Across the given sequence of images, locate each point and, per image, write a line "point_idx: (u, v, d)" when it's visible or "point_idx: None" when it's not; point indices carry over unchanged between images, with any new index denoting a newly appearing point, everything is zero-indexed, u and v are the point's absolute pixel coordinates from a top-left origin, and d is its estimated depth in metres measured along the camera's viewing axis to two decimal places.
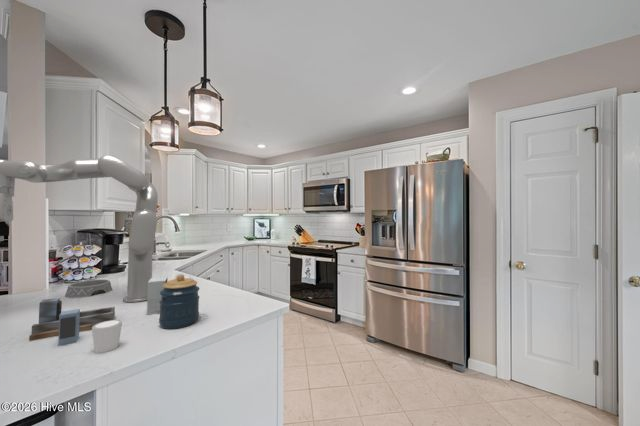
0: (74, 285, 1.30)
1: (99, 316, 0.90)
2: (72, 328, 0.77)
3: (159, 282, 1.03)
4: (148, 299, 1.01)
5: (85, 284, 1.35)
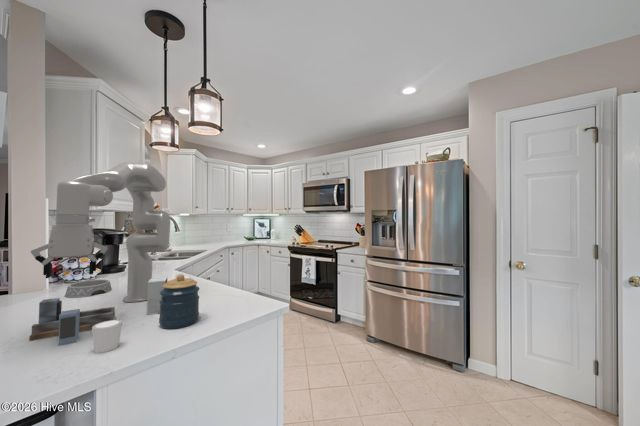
0: (74, 285, 1.30)
1: (99, 316, 0.90)
2: (72, 328, 0.77)
3: (159, 282, 1.03)
4: (148, 299, 1.01)
5: (85, 284, 1.35)
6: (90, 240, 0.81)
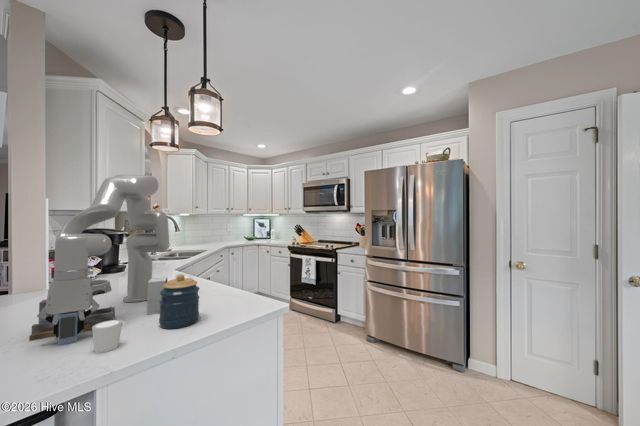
0: None
1: (99, 316, 0.90)
2: (72, 328, 0.77)
3: (159, 282, 1.03)
4: (148, 299, 1.01)
5: None
6: (88, 294, 0.80)
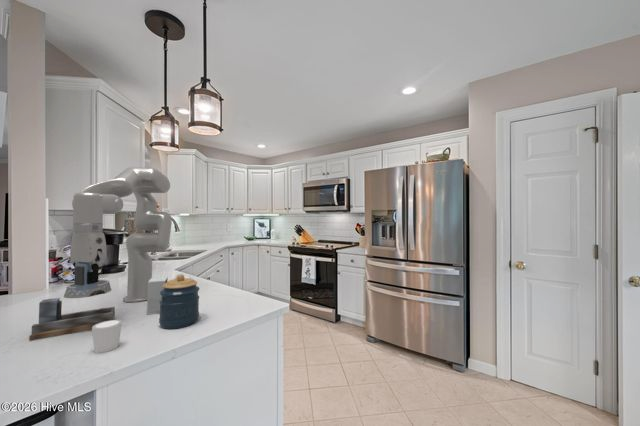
0: (73, 285, 1.30)
1: (99, 316, 0.90)
2: (80, 277, 0.83)
3: (159, 282, 1.03)
4: (148, 299, 1.01)
5: None
6: (92, 248, 0.83)
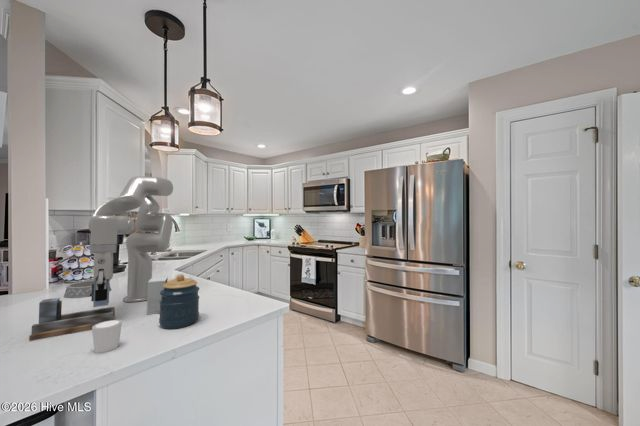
0: (73, 285, 1.30)
1: (99, 316, 0.90)
2: None
3: (159, 282, 1.03)
4: (148, 299, 1.01)
5: (84, 284, 1.35)
6: (94, 268, 0.89)
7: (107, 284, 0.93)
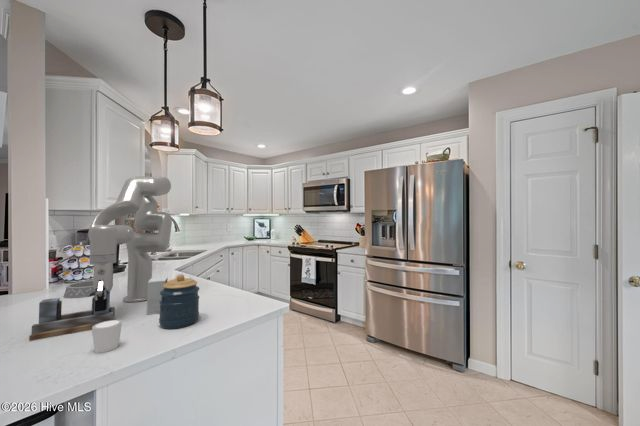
0: (73, 285, 1.30)
1: (99, 316, 0.90)
2: (92, 308, 0.91)
3: (159, 282, 1.03)
4: (148, 299, 1.01)
5: (84, 284, 1.35)
6: (94, 279, 0.89)
7: (107, 298, 0.93)
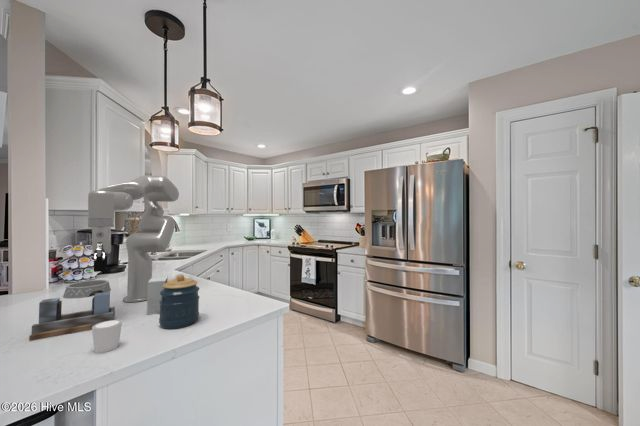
0: (72, 285, 1.30)
1: (99, 316, 0.90)
2: (92, 308, 0.91)
3: (159, 282, 1.03)
4: (148, 299, 1.01)
5: (84, 284, 1.35)
6: (92, 241, 0.91)
7: (107, 298, 0.93)
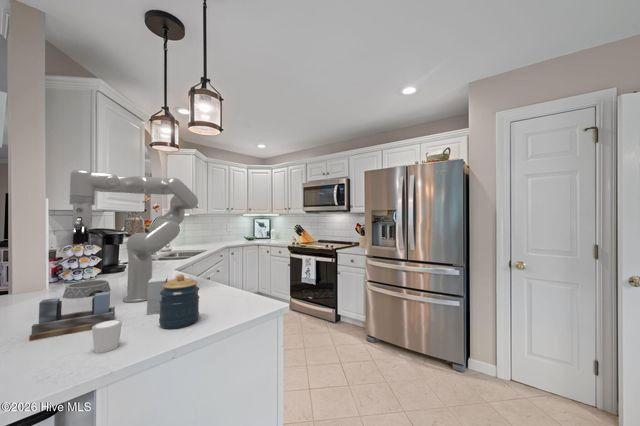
0: (72, 286, 1.29)
1: (99, 316, 0.90)
2: (92, 308, 0.91)
3: (159, 282, 1.03)
4: (148, 299, 1.01)
5: (83, 284, 1.34)
6: (73, 216, 0.98)
7: (107, 298, 0.93)
